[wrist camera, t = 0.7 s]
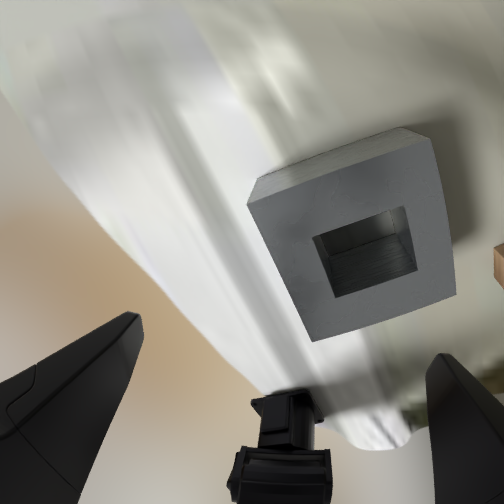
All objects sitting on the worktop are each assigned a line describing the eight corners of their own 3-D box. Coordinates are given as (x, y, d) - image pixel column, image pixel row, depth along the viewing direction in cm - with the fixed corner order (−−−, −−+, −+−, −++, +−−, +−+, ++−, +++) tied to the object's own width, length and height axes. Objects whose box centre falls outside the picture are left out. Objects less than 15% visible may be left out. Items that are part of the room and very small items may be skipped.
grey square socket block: (431, 256, 21) (456, 294, 17) (310, 297, 24) (312, 342, 20) (400, 126, 17) (430, 138, 13) (257, 178, 20) (246, 204, 16)
